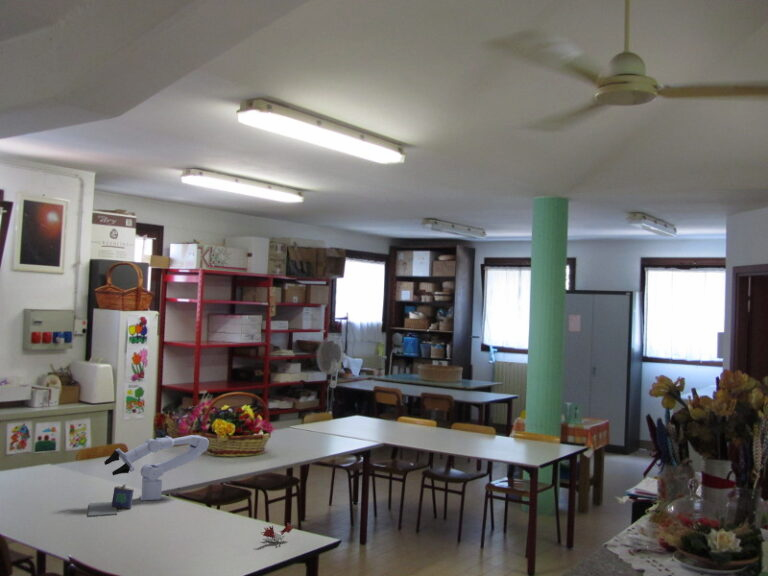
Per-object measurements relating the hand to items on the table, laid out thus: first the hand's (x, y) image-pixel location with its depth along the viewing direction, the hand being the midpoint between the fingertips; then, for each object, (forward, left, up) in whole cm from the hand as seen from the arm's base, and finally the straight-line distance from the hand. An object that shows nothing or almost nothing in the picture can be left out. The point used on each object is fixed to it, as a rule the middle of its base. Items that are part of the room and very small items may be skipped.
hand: (108, 468), depth 341 cm
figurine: (-65, +71, -17) cm, 98 cm away
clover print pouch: (-6, +8, -17) cm, 20 cm away
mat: (+2, +8, -17) cm, 19 cm away
